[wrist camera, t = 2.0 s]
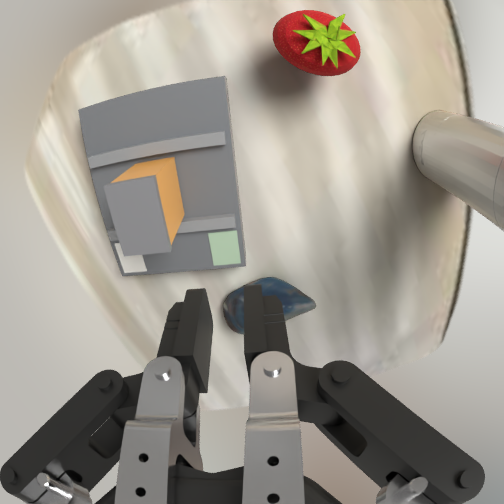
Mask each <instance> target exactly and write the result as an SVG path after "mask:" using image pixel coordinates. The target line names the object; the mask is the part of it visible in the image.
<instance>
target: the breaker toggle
mask: <svg viewBox="0 0 504 504" xmlns="http://www.w3.org/2000/svg"><path fill="white" fill-rule="evenodd" d="M103 187H104V190H105V194H106V198H107V202H108V206H109V209H110V213H111V216H112V220H113V223H114V227H115V230H116V233H117V236H118V240H119V243H120V246H121V249H122V252H123V255H124V257H125V256H135V255H145V254H155V253H166V252H171V249H172V246H171V245H172V243H173V240H174V238H175V236H176V233H177V231H178V229H179V226H180V224H181V222H182V219H183V217H184V215H185V213H184V208H183V203H182V198H181V192H180V187H179V181H178V176H177V170H176V164H175V158H174V157H170V158H164V159H158V160H153V161H147V162H142V163H137V164H135V165H133V166H132V167H131V168H129V169H128V170H127V171H125V172H124V173H123V174H121V175H120V176H119V177H117V178H116V179H115V180H114V181H112V182H111V183H109V184H106V185H105V186H103Z"/></svg>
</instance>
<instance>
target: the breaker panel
mask: <svg viewBox="0 0 504 504" xmlns="http://www.w3.org/2000/svg"><path fill="white" fill-rule="evenodd" d="M79 117H80V122H81V128H82V134H83V139H84V144H85V149H86V154H87V158H88V163H89V167H90V171H91V175H92V179H93V183H94V187H95V191H96V195H97V199H98V202H99V206H100V209H101V213H102V216H103V220H104V223H105V226H106V230H107V233H108V236H109V239H110V242H111V245H112V248H113V251H114V254H115V257H116V260H117V263H118V265H119V268H120V271H121V274H122V276H132V275H146V274H159V273H171V272H184V271H196V270H208V269H220V268H231V267H243V266H246V252H245V243H244V234H243V226H242V217H241V208H240V199H239V190H238V181H237V172H236V163H235V154H234V145H233V135H232V126H231V117H230V107H229V98H228V89H227V79H226V77H225V76H222V77H214V78H207V79H200V80H194V81H188V82H182V83H177V84H171V85H167V86H162V87H157V88H153V89H148V90H144V91H140V92H136V93H132V94H128V95H124V96H121V97H117V98H114V99H110V100H107V101H104V102H101V103H97V104H94V105H91V106H88V107H85V108H82V109H80V110H79ZM170 157H174V158H175V164H176V170H177V176H178V181H179V187H180V192H181V198H182V203H183V208H184V213H185V215H184V217H183V219H182V222H181V224H180V226H179V229H178V231H177V233H176V236H175V238H174V240H173V243H172V245H171V246H172V249H171V252H166V253H155V254H145V255H135V256H125V257H124V255H123V252H122V249H121V246H120V243H119V240H118V236H117V233H116V230H115V227H114V223H113V220H112V216H111V213H110V209H109V206H108V202H107V198H106V194H105V190H104V187H103V186H105V185H106V184H109V183H111V182H112V181H114V180H115V179H116V178H117V177H119V176H120V175H121V174H123V173H124V172H125V171H127V170H128V169H129V168H131V167H132V166H133V165H135V164H137V163H142V162H147V161H153V160H158V159H164V158H170Z"/></svg>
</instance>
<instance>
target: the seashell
mask: <svg viewBox="0 0 504 504" xmlns="http://www.w3.org/2000/svg"><path fill="white" fill-rule="evenodd" d="M254 284H261V286H262V296H271V295H276V296H277V298H278V299H279V300H280V301H281V302H282V306H283V312H284V318H285V321H286V320H288V319H291V318H293V317H295V316H298V315H300V314H303V313H305V312H308V311H311V310H313V309H314V308H316V303H315V302H314V300H313V299H311V298H310V297H308V296H307V295H305V294H304V293H302V292H301V291H300V290H298V289H297V288H295V287H294V286H292V285H290V284H289V283H287V282H285V281H283V280H280V279H278V278H274V277H268V278H262V279H259V280H257V281H254V282H251V283H249V284H247V285H254ZM223 312H224V317H225V320H226V322H227V324H228V326H229V327H230V328H231V329H232V330H233V331H234V332H237V333H239V334H244V287H242V288H240V289H238V290H236V291H233V292H232V293H230V294H229V295H228V297H227V299H226V300H225V302H224V304H223Z"/></svg>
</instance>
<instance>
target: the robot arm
mask: <svg viewBox="0 0 504 504" xmlns="http://www.w3.org/2000/svg"><path fill="white" fill-rule="evenodd" d="M413 155H414V160H415V163H416V165H417V167H418V169H419V170H420V172H421V173H422V174H423V175H424V176H425V177H427V178H428V179H430V180H431V181H433V182H435V183H436V184H438V185H439V186H441V187H442V188H444V189H445V190H447V191H448V192H450V193H451V194H453V195H454V196H456V197H457V198H459V199H460V200H462V201H463V202H465V203H466V204H468V205H469V206H471V207H472V208H473V209H475V210H476V211H478V212H479V213H480V214H482V215H483V216H484V217H486V218H487V219H488V220H490V221H491V222H492V223H494V224H495V225H496V226H498V227H499V228H500V229H501V230H503V231H504V127H502V126H499V125H496V124H493V123H489V122H486V121H482V120H479V119H475V118H472V117H468V116H464V115H461V114H456V113H452V112H447V111H442V110H438V111H433V112H430V113H428V114H427V115H426V116H424V117H423V119H422V120H421V121H420V122H419V124H418V126H417V128H416V130H415V133H414V137H413ZM212 334H213V320H212V314H211V310H210V305H209V301H208V297H207V293H206V290H205V288H203V289H189V290H187V291H186V295H185V299H184V302H176V303H175V304H174V305H173V307H172V308H171V309H170V310H169V312H168V316H167V320H166V323H165V327H164V331H163V335H162V338H161V342H160V346H159V350H158V354H157V358H155V359H153V360H152V361H150V362H149V363H148V364H147V366H146V367H145V369H144V372H142V373H140V374H136V375H132V376H128V377H124V378H122V376H121V375H120V374H119V373H118V372H117V371H114V370H104V371H101V372H100V373H98V374H96V375H95V376H94V377H93V378H92V379H91V380H90V381H89V382H88V383H87V384H86V385H85V386H83V387H82V388H81V389H80V390H79V391H78V392H77V393H76V394H75V395H74V396H73V397H72V398H71V399H70V400H69V401H68V402H67V403H66V404H65V405H64V406H63V407H62V408H61V409H60V410H58V411H57V413H55V414H54V415H53V416H52V417H51V418H50V419H49V420H48V421H47V422H46V423H45V424H44V425H43V426H42V427H41V428H40V429H39V430H38V431H37V432H36V433H35V434H34V435H33V436H32V437H31V438H30V439H29V440H28V441H27V442H26V443H25V444H24V445H23V446H22V447H21V448H20V449H19V450H18V451H17V452H16V453H15V454H14V455H13V456H12V457H11V458H10V459H9V460H8V461H7V462H6V463H5V464H4V465H3V466H2V468H1V471H0V481H1V484H2V486H3V488H4V489H5V490H6V491H7V492H8V493H10V494H12V495H14V496H15V497H17V498H20V499H21V500H23V501H24V502H26V503H27V504H92V500H91V498H90V495H89V492H90V491H91V489H92V488H94V486H95V485H96V484H97V483H98V482H99V481H100V480H101V479H102V478H103V477H104V476H105V475H106V474H107V473H108V472H109V471H110V470H111V468H112V467H113V466H114V465H115V464H116V463H117V462H118V461H119V468H118V476H117V485H116V486H115V487H114V488H113V489H111V490H110V491H109V492H108V493H107V494H105V495H104V496H103V497H102V498H101V499H100V500H99V501H97V502H96V503H95V504H342V503H341V502H340V501H338V500H337V499H336V498H334V497H333V496H332V495H331V494H330V493H328V492H327V491H326V490H325V489H323V488H322V487H321V486H320V485H319V484H317V483H316V482H315V481H313V480H311V479H310V478H308V477H306V476H304V475H303V461H302V447H301V446H302V445H301V430H300V421H304V422H309V423H314V424H315V425H316V427H317V428H318V429H319V430H320V431H321V432H322V433H323V434H324V435H325V436H326V437H327V438H328V439H329V440H330V441H331V442H332V443H334V445H336V446H337V447H338V448H339V449H340V450H341V451H342V452H343V453H344V454H345V455H346V456H347V457H348V458H349V459H350V460H351V461H352V462H353V463H354V464H355V465H356V466H357V467H359V468H360V469H361V470H362V471H363V472H364V473H365V474H366V475H367V476H368V477H370V478H371V479H372V480H373V481H374V482H375V483H376V484H378V485H379V486H380V487H381V490H380V491H379V493H378V494H377V497H376V504H462V503H464V502H466V501H469V500H470V499H472V498H474V497H475V496H476V495H477V494H478V493H479V492H480V490H481V488H482V487H483V484H484V480H485V474H484V470H483V467H482V466H481V465H480V464H479V463H478V462H477V461H476V460H474V459H473V458H472V457H470V456H469V455H468V454H467V453H465V452H464V451H463V450H461V449H460V448H459V447H457V446H456V445H455V444H453V443H452V442H451V441H450V440H448V439H447V438H445V437H444V436H443V435H442V434H440V433H439V432H438V431H437V430H435V429H434V428H433V427H431V426H430V425H429V424H427V423H426V422H425V421H424V420H422V419H421V418H420V417H419V416H417V415H416V414H415V413H413V412H412V411H411V410H410V409H408V408H407V407H406V406H405V405H404V404H402V403H401V402H400V401H399V400H397V399H396V398H395V397H394V396H392V395H391V394H390V393H388V392H387V391H386V390H385V389H383V388H382V387H381V386H380V385H379V384H377V383H376V382H375V381H374V380H372V379H371V378H370V377H369V376H368V375H366V374H365V373H364V372H363V371H361V370H360V369H359V368H358V367H356V366H355V365H354V364H352V363H350V362H347V361H333V362H330V363H328V364H326V365H325V366H324V367H323V368H315V367H309V366H305V365H302V364H300V363H298V362H297V361H296V360H295V359H294V358H293V357H292V355H291V353H290V349H289V342H288V336H287V330H286V324H285V318H284V312H283V306H282V302H281V301H280V300H279V299H278V298H277V296H276V295H271V296H262V286H261V284H254V285H244V354H245V360H246V365H247V371H248V377H249V382H250V399H249V418H248V420H247V423H246V435H245V456H244V457H245V458H244V466H243V467H239V468H234V469H230V470H226V471H221V472H217V473H208V472H204V471H203V463H202V458H201V455H200V448H199V440H200V439H199V438H200V437H199V436H200V435H199V434H200V406H199V404H198V402H199V393H207V391H208V379H209V367H210V356H211V345H212ZM107 419H108V420H107ZM106 420H107V421H106ZM105 421H106V422H105ZM104 422H105V423H104ZM103 423H104V424H103ZM102 424H103V425H102ZM101 425H102V426H101ZM100 426H101V427H100ZM99 427H100V428H99ZM98 428H99V429H98ZM97 429H98V430H97ZM96 430H97V431H96ZM95 431H96V432H95ZM94 432H95V433H94ZM93 433H94V434H93ZM92 434H93V435H92ZM91 435H92V436H91Z"/></svg>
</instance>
